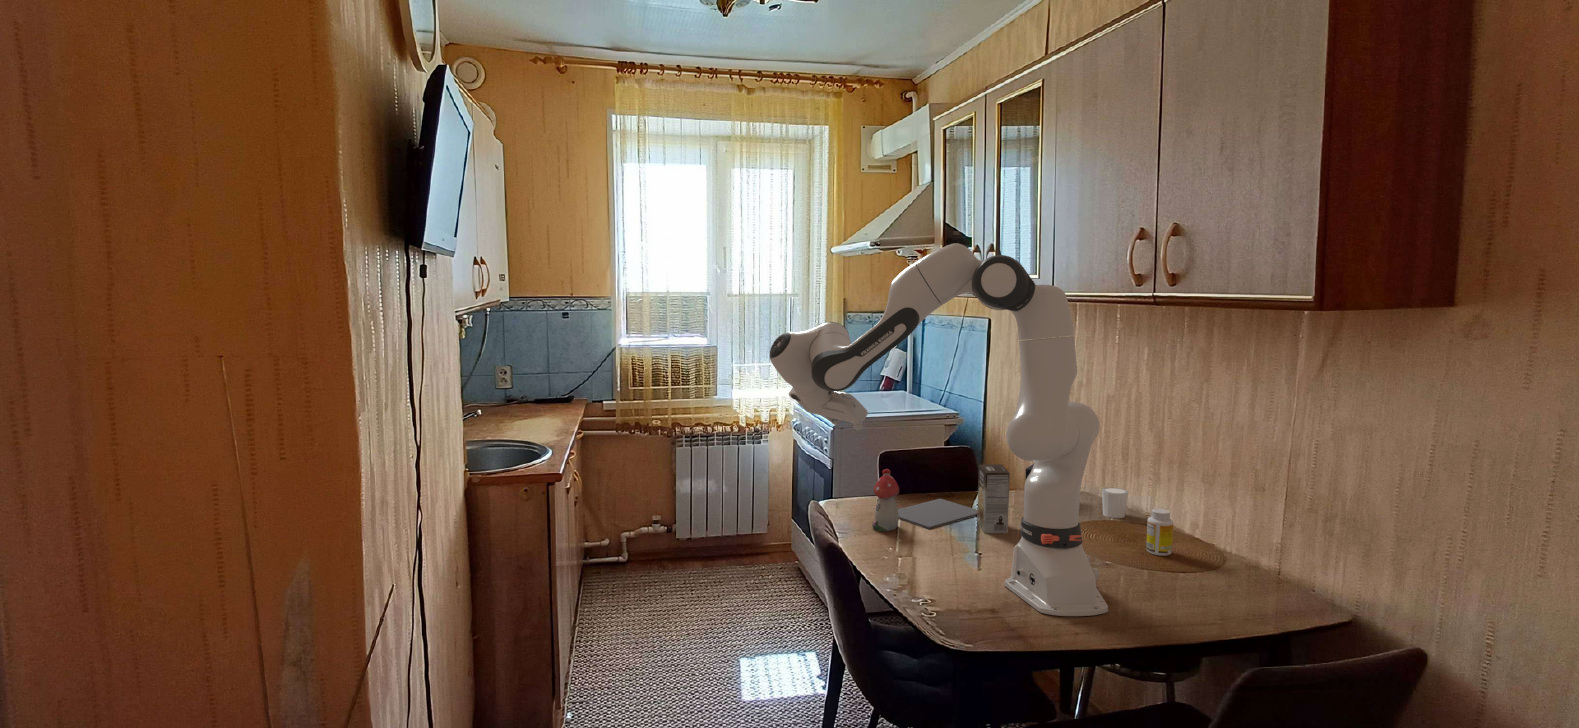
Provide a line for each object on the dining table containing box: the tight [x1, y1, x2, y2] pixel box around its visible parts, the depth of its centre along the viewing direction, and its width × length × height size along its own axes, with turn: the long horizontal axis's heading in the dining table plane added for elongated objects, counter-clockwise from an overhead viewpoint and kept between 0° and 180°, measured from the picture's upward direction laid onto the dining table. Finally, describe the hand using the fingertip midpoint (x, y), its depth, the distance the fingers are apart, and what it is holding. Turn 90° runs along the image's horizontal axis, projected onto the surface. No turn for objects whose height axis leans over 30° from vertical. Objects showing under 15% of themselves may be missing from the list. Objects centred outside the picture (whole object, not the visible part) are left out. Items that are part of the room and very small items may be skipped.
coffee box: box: [976, 463, 1011, 534], centre depth 201 cm, size 9×6×16 cm
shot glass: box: [1101, 487, 1129, 519], centre depth 212 cm, size 7×7×7 cm
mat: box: [897, 498, 978, 530], centre depth 213 cm, size 22×16×1 cm
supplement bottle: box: [1145, 508, 1174, 557], centre depth 183 cm, size 6×6×10 cm
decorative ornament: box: [871, 468, 900, 533], centre depth 201 cm, size 9×7×15 cm
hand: (848, 425), depth 187 cm, fingers open, 7 cm apart
